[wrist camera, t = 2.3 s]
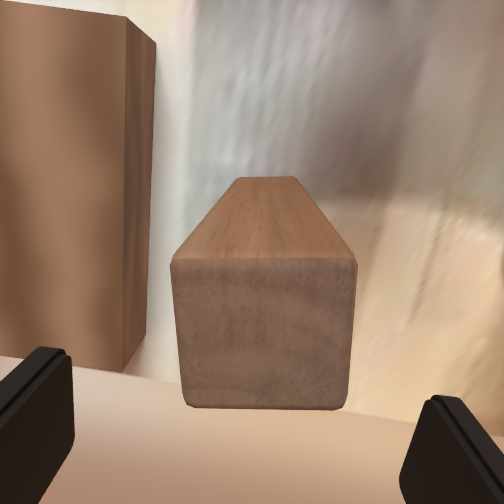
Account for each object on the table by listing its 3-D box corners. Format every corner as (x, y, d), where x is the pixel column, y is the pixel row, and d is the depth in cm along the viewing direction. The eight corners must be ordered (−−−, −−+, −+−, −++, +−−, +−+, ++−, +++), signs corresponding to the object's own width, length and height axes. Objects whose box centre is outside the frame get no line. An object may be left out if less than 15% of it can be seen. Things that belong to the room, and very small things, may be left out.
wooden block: (295, 290, 27) (340, 537, 10) (238, 290, 28) (192, 532, 11) (297, 175, 25) (363, 254, 8) (235, 176, 25) (163, 255, 8)
